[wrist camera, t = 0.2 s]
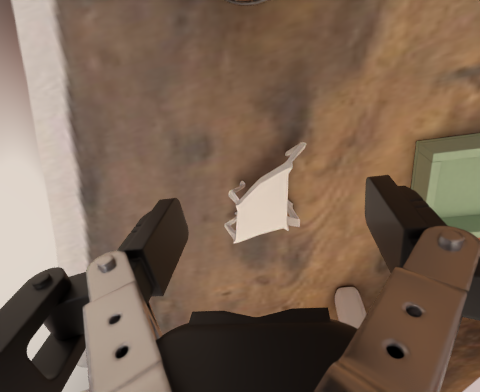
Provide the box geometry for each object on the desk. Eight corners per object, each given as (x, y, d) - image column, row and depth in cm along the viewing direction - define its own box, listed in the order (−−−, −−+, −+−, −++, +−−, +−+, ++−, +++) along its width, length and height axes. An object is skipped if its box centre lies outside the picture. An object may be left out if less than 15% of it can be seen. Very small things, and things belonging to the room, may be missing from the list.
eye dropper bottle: (372, 290, 37) (410, 389, 26) (353, 316, 40) (381, 415, 29) (340, 281, 37) (366, 378, 26) (324, 308, 40) (341, 405, 29)
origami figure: (290, 234, 34) (292, 262, 30) (223, 216, 34) (215, 242, 29) (329, 142, 28) (338, 160, 24) (247, 119, 28) (242, 135, 23)
